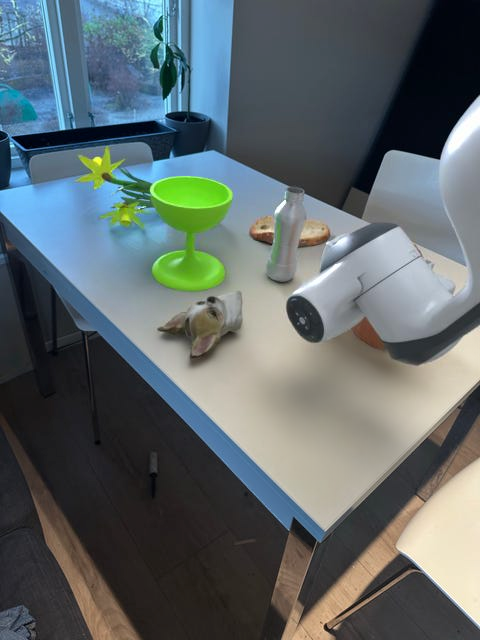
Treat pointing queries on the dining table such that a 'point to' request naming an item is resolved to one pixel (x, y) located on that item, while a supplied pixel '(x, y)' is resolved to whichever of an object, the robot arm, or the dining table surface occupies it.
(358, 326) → the terracotta bowl
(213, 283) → the wineglass
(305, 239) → the bread slice
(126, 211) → the daffodil flowers
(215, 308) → the ceramic sculpture
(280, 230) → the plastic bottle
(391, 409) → the dining table surface
